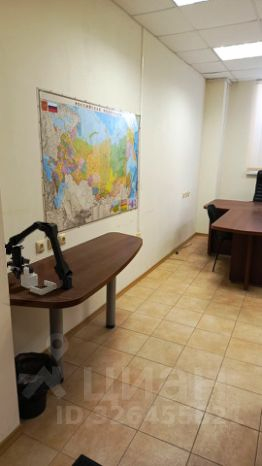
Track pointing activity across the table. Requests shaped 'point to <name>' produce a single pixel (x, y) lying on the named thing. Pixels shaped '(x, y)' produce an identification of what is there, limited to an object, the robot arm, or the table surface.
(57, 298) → the table surface
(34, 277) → the white stepped block
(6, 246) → the robot arm
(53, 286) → the holder
